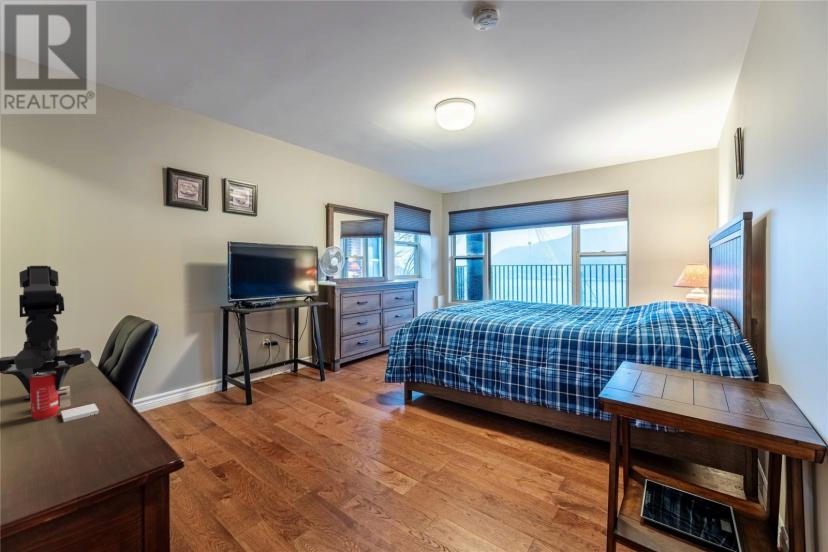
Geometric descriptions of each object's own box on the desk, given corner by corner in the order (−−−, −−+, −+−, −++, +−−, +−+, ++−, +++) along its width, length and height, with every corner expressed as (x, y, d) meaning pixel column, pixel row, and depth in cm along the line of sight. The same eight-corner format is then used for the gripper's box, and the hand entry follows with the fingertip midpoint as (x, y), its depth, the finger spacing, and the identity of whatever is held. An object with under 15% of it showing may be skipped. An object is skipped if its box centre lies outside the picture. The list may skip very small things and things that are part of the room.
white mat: (61, 414, 97) (60, 411, 97) (94, 406, 102) (94, 403, 102) (63, 422, 93) (63, 418, 92) (98, 413, 98) (98, 410, 98)
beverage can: (40, 421, 93) (39, 377, 92) (26, 419, 94) (24, 376, 93) (63, 413, 98) (62, 371, 98) (49, 411, 99) (48, 370, 99)
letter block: (46, 406, 103) (45, 389, 102) (70, 401, 106) (69, 385, 106) (46, 412, 99) (45, 394, 99) (70, 406, 103) (70, 389, 102)
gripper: (-29, 345, 84) (-26, 408, 84) (74, 337, 92) (76, 395, 93) (0, 336, 94) (3, 393, 94) (91, 330, 102) (92, 382, 103)
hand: (44, 391), depth 96 cm, fingers closed on beverage can, 5 cm apart
